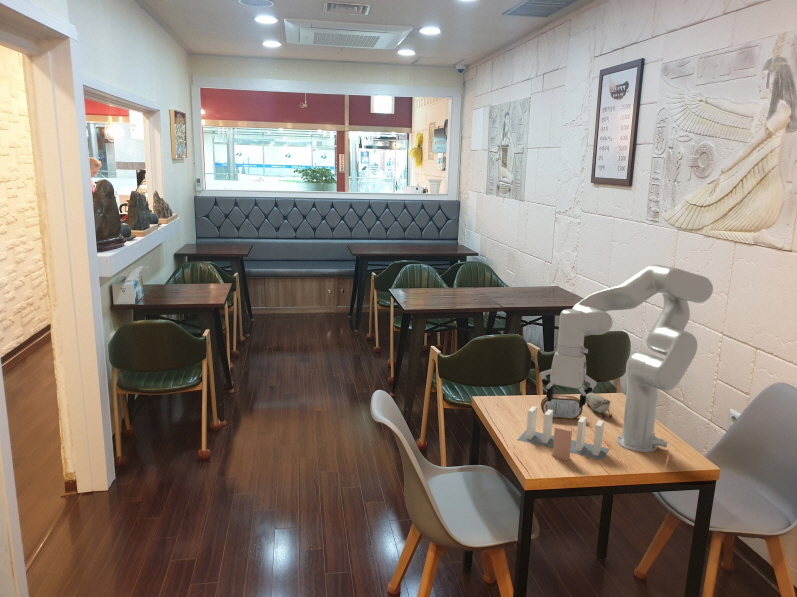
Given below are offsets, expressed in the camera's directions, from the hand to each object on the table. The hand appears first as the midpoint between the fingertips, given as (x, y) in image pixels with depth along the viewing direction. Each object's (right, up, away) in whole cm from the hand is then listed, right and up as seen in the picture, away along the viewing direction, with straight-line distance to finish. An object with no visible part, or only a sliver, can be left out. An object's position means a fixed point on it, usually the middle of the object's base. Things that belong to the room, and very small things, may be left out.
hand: (565, 403), depth 186 cm
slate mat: (+3, -16, +13) cm, 21 cm away
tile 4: (+8, -16, +10) cm, 21 cm away
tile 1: (-7, -15, +18) cm, 24 cm away
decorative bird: (+24, -11, +43) cm, 51 cm away
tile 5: (+12, -17, +8) cm, 22 cm away
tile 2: (-2, -15, +16) cm, 22 cm away
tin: (+9, -12, +37) cm, 40 cm away
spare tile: (0, -18, +3) cm, 18 cm away
